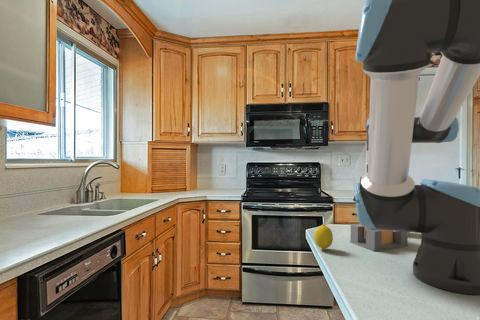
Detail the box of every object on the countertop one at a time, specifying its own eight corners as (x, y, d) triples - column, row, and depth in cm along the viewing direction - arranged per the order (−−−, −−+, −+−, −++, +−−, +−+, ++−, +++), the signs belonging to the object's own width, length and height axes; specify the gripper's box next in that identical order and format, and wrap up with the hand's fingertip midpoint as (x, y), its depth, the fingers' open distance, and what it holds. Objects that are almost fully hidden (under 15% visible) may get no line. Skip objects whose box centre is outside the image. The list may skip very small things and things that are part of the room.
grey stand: (408, 245, 91) (408, 227, 91) (374, 251, 85) (374, 231, 85) (382, 237, 100) (382, 221, 100) (350, 242, 95) (350, 224, 95)
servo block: (398, 241, 93) (398, 211, 93) (371, 245, 88) (371, 214, 88) (385, 237, 97) (385, 209, 97) (359, 241, 93) (359, 211, 93)
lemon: (310, 248, 88) (310, 223, 88) (325, 246, 90) (325, 222, 90) (321, 253, 83) (321, 227, 83) (336, 251, 85) (336, 225, 85)
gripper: (422, 163, 83) (422, 234, 82) (358, 163, 106) (358, 218, 105) (405, 163, 80) (405, 236, 79) (343, 163, 103) (343, 220, 103)
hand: (378, 226), depth 92 cm, fingers open, 13 cm apart
